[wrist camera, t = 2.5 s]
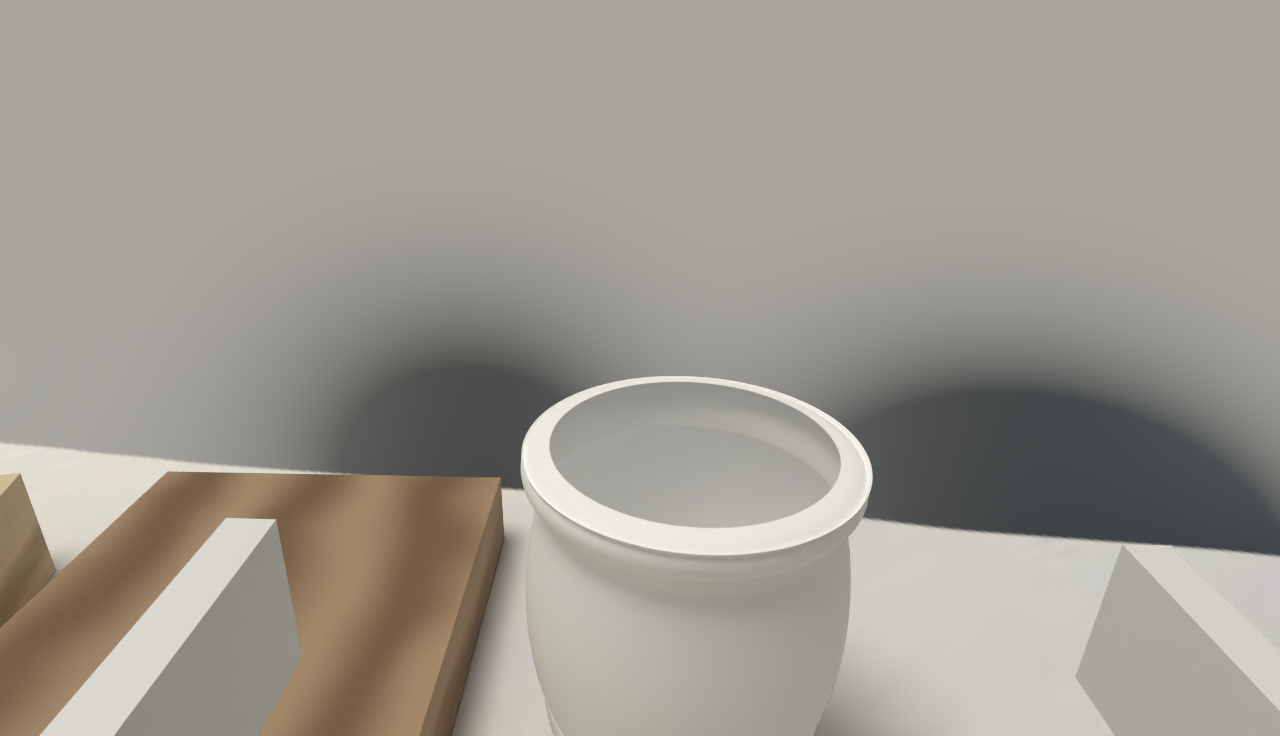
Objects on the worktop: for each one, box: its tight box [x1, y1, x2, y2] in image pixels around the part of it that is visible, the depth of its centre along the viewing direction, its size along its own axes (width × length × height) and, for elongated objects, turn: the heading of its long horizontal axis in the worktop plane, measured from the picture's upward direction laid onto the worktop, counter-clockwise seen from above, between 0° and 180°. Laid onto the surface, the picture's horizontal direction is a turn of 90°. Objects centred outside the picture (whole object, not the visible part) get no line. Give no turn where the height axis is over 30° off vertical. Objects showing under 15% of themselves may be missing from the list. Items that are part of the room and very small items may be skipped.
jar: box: [521, 376, 872, 736], centre depth 26 cm, size 11×10×15 cm
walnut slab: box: [0, 472, 504, 736], centre depth 34 cm, size 18×18×4 cm
